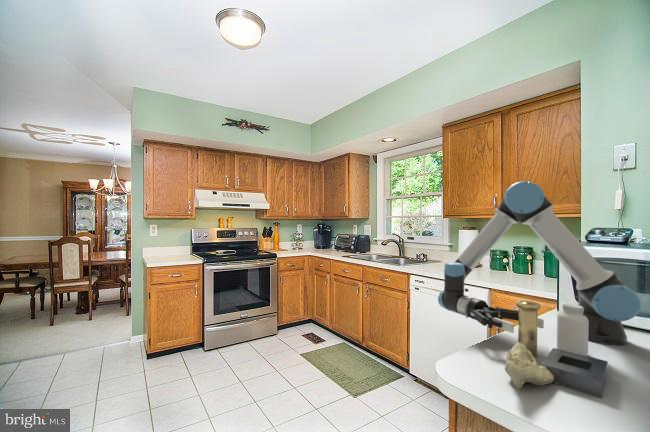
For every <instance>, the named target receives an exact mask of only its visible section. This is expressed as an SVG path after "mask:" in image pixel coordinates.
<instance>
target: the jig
mask: <svg viewBox="0 0 650 432" xmlns="http://www.w3.org/2000/svg"><path fill="white" fill-rule="evenodd" d="M608 364H609V361H607V360H605V359H600V358H595V357H593V356H592V357H591V356H588V355H587V356H584V355H580V354H576V353H572V352H568V351H564V350H560V349H557V347H556V348H555V347H553V348H552V350H551V351H549V353H548V354H547V355H546V357H545V358H544V359H543V361H542V362H540V366H543V367H546V368H547V369H548V370H549V371H550V372H551V373H552V374H553V376H554V381H553V382H552V384H555V385H558V386H562V387H565V388H568V389H571V390H575V391H577V392H581V393H584V394H587V395H590V396H594V397H596V398H600V399H602V396H603V394H604V393H603V392H604V390H605V386H606V383H607V379H608V377H609V376H608V375H609V374H608V373H609V372H608V367H609V366H608ZM607 376H608V377H607Z"/></svg>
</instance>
